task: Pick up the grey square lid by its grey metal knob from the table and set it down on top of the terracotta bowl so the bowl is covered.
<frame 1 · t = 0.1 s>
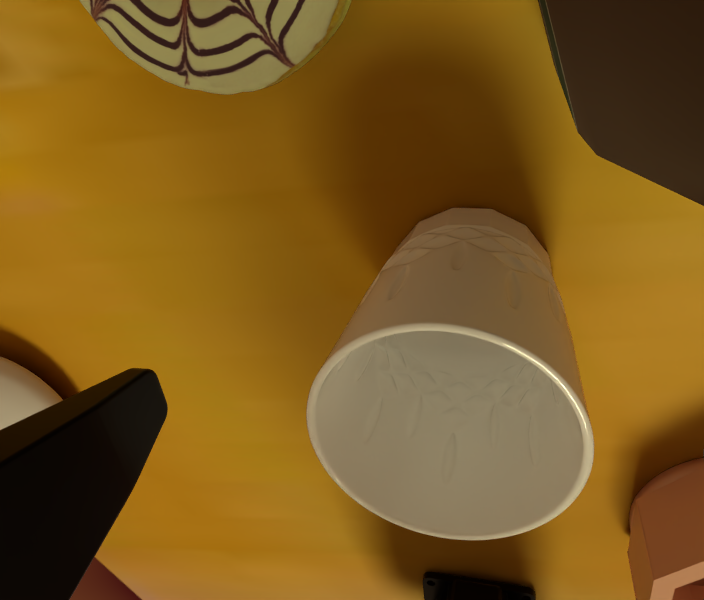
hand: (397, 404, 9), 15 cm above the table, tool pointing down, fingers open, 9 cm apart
white cup: (469, 278, 24), on the table
flower in vase: (30, 400, 36), on the table
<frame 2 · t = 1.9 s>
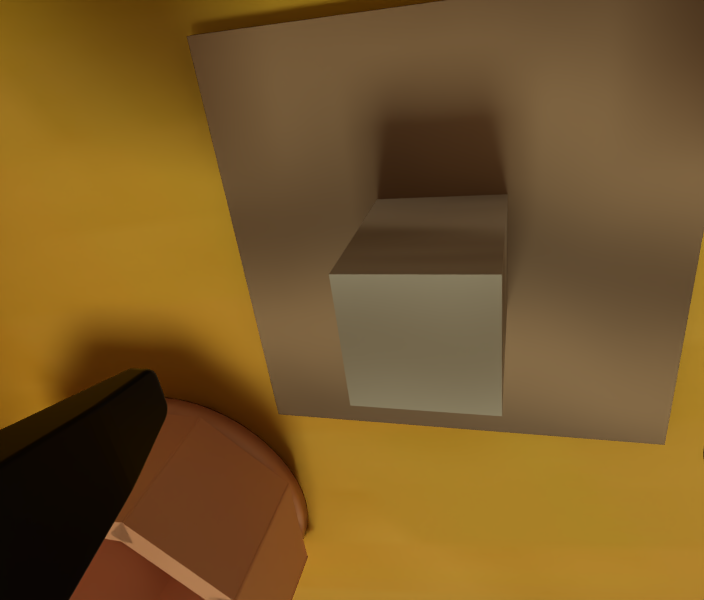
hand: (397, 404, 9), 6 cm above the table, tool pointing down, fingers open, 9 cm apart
terracotta bowl: (197, 489, 21), on the table
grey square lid: (448, 239, 14), on the table
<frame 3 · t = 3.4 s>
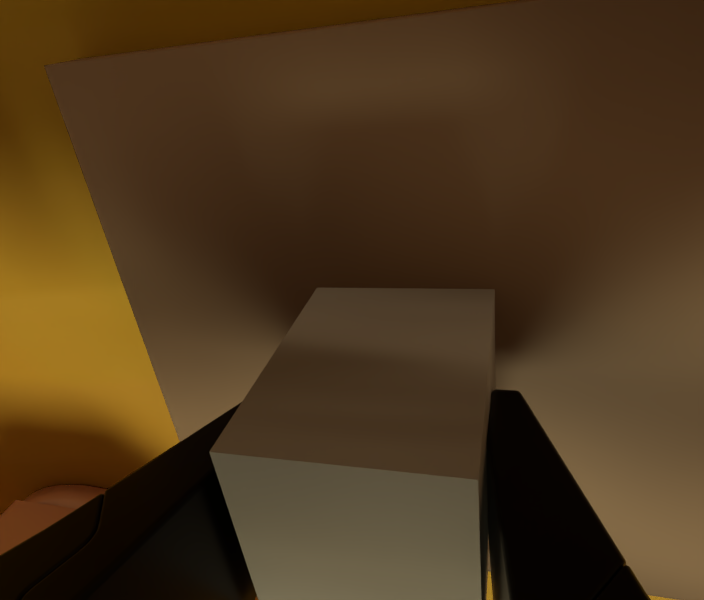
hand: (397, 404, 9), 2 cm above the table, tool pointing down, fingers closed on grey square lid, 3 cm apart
terracotta bowl: (136, 584, 18), on the table
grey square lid: (417, 332, 11), on the table, touching gripper
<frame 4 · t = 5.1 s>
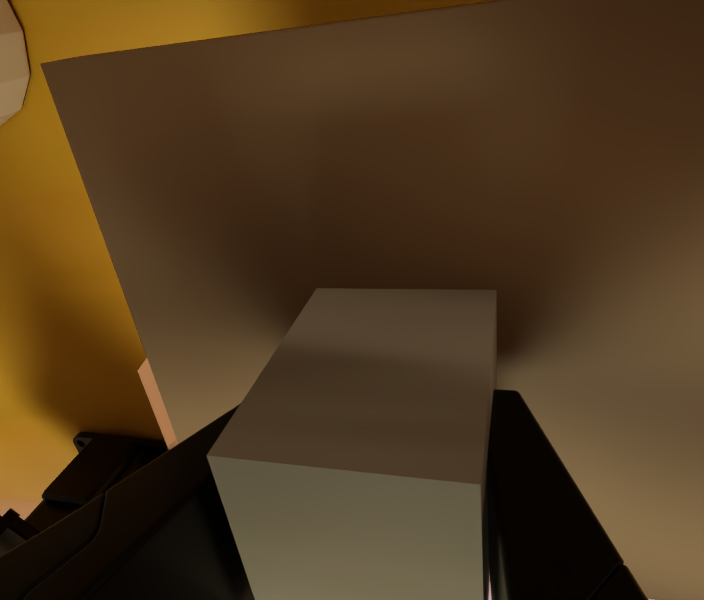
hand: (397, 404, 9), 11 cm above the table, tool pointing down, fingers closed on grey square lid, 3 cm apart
terracotta bowl: (311, 341, 23), on the table
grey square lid: (418, 333, 11), point 9 cm above the table, touching gripper
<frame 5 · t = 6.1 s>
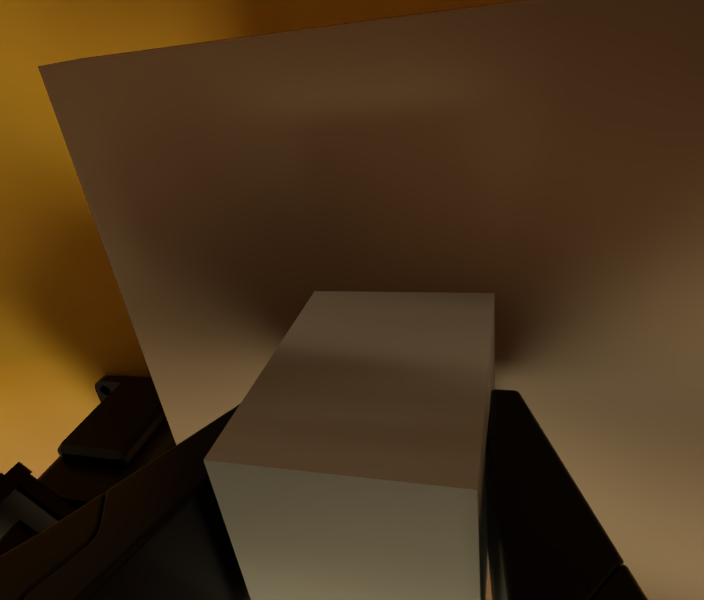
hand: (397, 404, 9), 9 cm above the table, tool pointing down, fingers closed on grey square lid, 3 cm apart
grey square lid: (416, 336, 11), point 7 cm above the table, touching gripper
when the fingers open (8 cm above the table, at t = 6.8 s): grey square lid stays where it is, resting on terracotta bowl.
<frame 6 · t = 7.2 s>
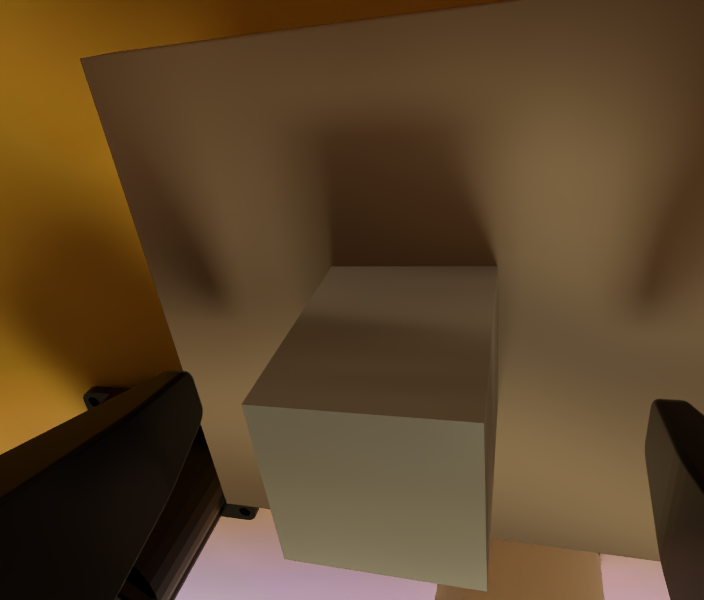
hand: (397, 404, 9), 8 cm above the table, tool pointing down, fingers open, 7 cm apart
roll: (518, 551, 22), on the table
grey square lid: (424, 310, 12), point 5 cm above the table, touching terracotta bowl
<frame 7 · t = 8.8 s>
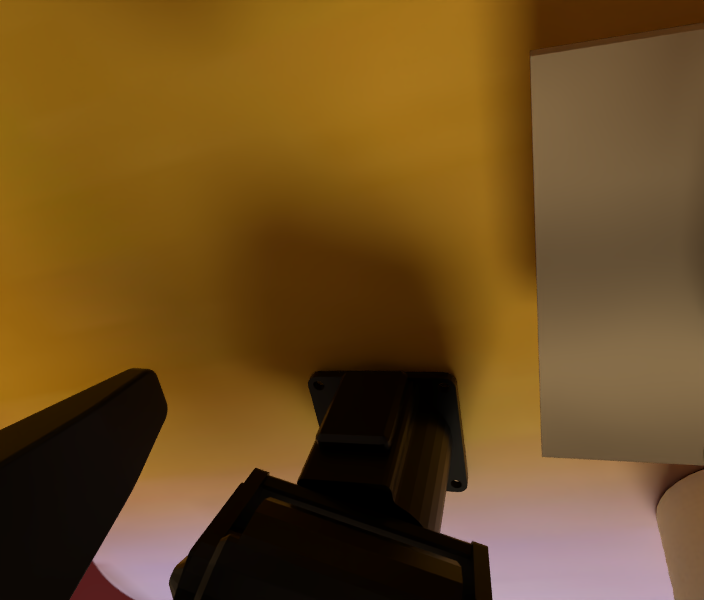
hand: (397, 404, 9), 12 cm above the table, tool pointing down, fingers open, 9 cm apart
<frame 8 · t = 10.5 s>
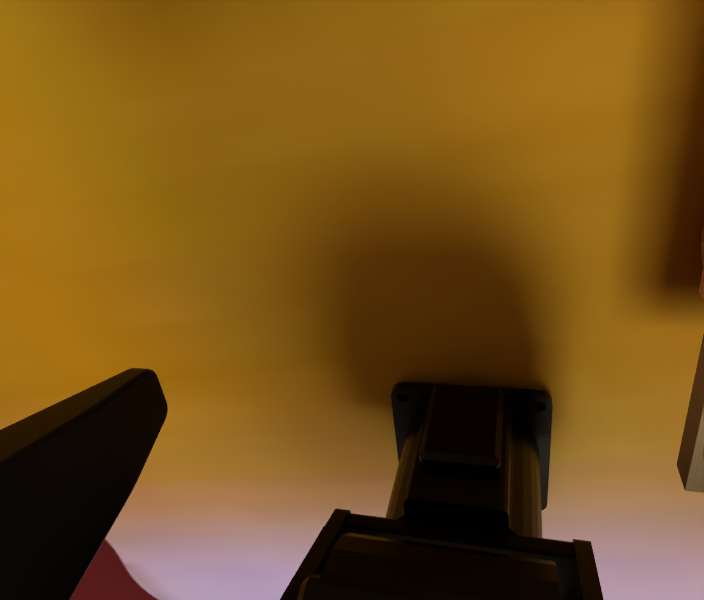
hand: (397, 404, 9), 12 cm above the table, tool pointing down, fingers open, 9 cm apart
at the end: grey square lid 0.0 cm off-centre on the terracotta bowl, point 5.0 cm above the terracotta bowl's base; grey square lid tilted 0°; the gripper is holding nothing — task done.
